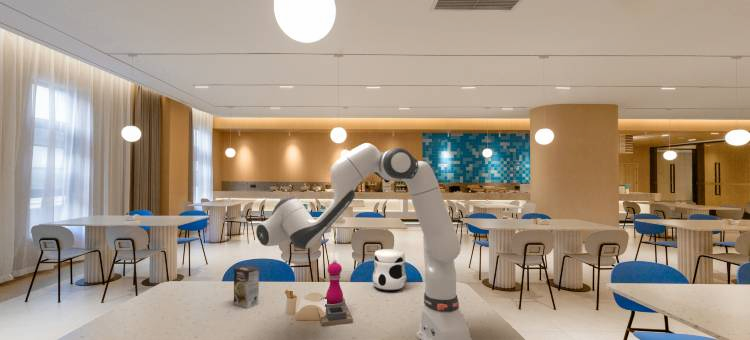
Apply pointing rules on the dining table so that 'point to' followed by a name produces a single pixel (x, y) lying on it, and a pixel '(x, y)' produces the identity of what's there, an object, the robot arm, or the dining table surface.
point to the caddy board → (336, 314)
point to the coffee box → (246, 286)
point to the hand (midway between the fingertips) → (319, 223)
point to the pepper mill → (334, 284)
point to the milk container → (389, 270)
